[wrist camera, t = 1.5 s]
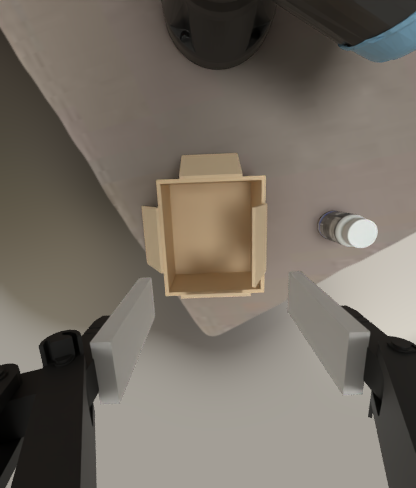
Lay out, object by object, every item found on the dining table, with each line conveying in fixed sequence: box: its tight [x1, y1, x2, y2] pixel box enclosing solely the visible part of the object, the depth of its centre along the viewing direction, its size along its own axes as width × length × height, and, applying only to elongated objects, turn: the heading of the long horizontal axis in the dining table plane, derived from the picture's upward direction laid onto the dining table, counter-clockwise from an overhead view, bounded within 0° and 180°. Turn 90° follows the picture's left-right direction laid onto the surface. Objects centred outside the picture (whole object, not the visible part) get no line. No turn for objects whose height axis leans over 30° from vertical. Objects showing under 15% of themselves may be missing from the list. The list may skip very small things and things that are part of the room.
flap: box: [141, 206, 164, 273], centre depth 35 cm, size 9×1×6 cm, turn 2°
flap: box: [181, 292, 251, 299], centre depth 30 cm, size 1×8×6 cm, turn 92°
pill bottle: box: [318, 211, 378, 248], centre depth 36 cm, size 5×5×8 cm
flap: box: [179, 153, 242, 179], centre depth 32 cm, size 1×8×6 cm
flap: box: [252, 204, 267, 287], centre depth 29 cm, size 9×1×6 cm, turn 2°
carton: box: [156, 176, 266, 296], centre depth 36 cm, size 16×14×8 cm
